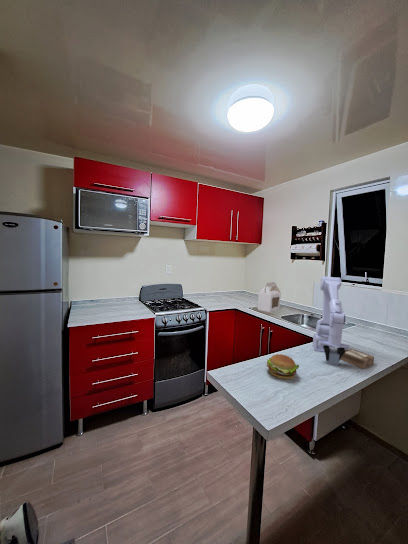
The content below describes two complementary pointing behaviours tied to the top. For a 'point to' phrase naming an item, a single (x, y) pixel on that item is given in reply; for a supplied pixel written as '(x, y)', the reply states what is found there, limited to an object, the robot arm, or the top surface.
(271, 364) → the food
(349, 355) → the walnut base
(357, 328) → the top surface
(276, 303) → the gable box
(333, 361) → the block
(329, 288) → the robot arm
